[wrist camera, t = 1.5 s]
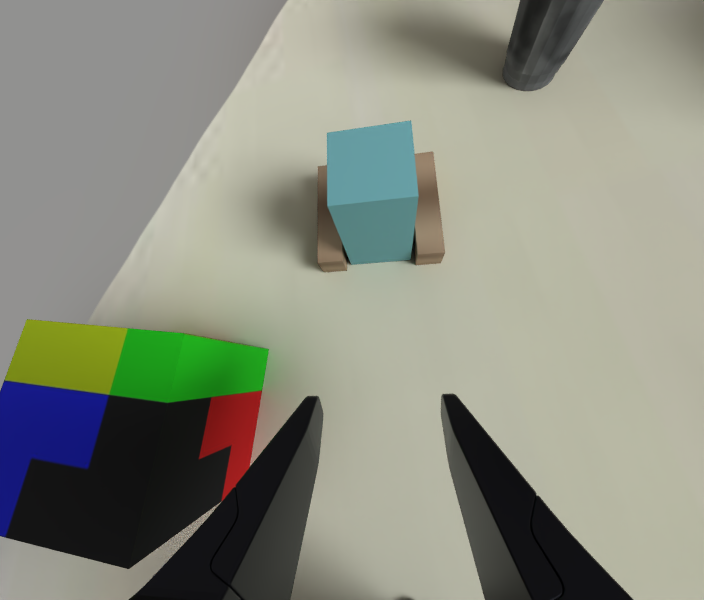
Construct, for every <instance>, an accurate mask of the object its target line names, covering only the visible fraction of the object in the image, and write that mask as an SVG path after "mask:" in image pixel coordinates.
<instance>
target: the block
mask: <svg viewBox="0 0 704 600" xmlns="http://www.w3.org/2000/svg"><path fill="white" fill-rule="evenodd" d="M418 197H419V195H418V185H417V175H416V165H415V155H414V144H413V134H412V124H411V121H405V122H398V123H391V124H384V125H378V126H371V127H364V128H357V129H350V130H343V131H337V132H330V133H327V206H328V209H329V211H330V214H331V216H332V219H333V221H334V223H335V226H336V228H337V231H338V233H339V236H340V238H341V240H342V243H343V245H344V248H345V250H346V253H347V255H348V258H349V260H350V262H351V265H353V264H365V263H378V262H390V261H402V260H410V259H411V252H412V244H413V236H414V228H415V220H416V213H417V205H418Z"/></svg>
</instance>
